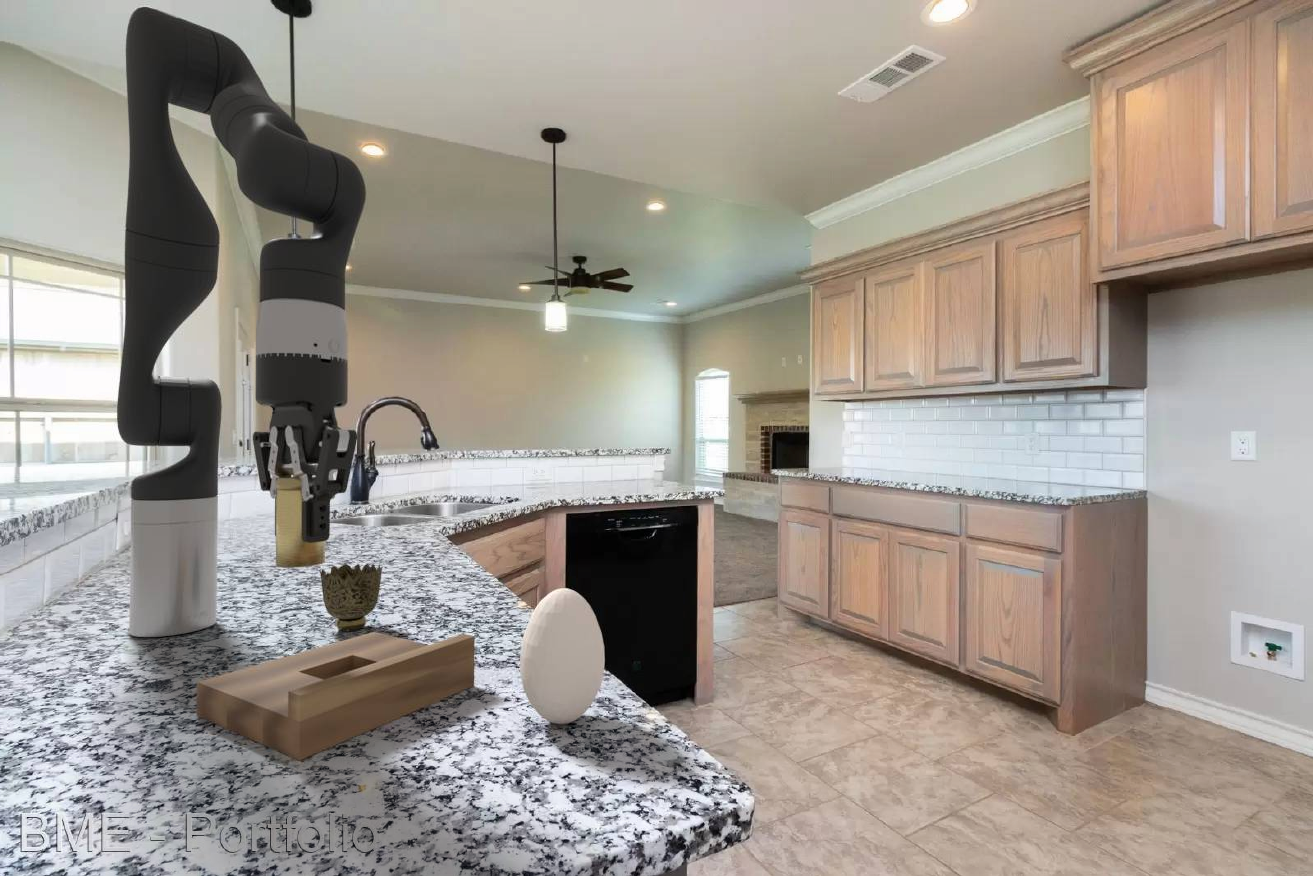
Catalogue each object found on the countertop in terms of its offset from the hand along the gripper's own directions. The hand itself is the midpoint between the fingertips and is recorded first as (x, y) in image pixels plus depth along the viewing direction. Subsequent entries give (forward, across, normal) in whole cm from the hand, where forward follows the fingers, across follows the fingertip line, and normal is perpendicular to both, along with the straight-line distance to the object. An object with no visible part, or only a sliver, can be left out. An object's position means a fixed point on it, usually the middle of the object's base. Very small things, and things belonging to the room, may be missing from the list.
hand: (302, 538), depth 60 cm
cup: (+16, -20, +18) cm, 31 cm away
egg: (+16, +22, +11) cm, 29 cm away
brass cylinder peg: (+2, 0, 0) cm, 2 cm away
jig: (+16, +1, +3) cm, 16 cm away
